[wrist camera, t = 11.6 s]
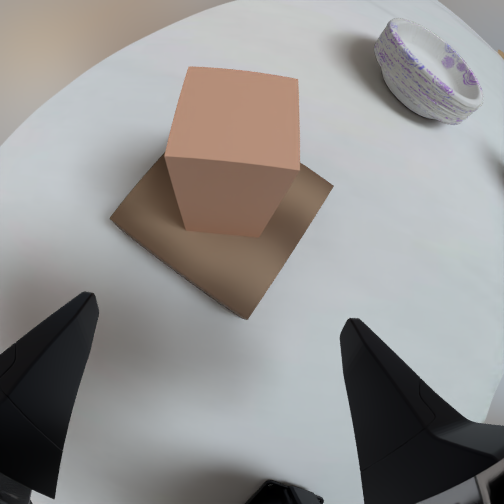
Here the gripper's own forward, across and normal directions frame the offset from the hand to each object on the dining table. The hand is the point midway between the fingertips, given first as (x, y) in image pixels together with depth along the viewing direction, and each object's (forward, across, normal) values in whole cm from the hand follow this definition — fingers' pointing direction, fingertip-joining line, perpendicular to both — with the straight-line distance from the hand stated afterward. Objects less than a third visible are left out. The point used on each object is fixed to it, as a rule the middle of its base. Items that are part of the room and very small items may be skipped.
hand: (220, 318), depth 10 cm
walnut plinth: (+14, 0, +3) cm, 15 cm away
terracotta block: (+12, 0, +1) cm, 12 cm away
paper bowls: (+30, -22, -12) cm, 39 cm away
